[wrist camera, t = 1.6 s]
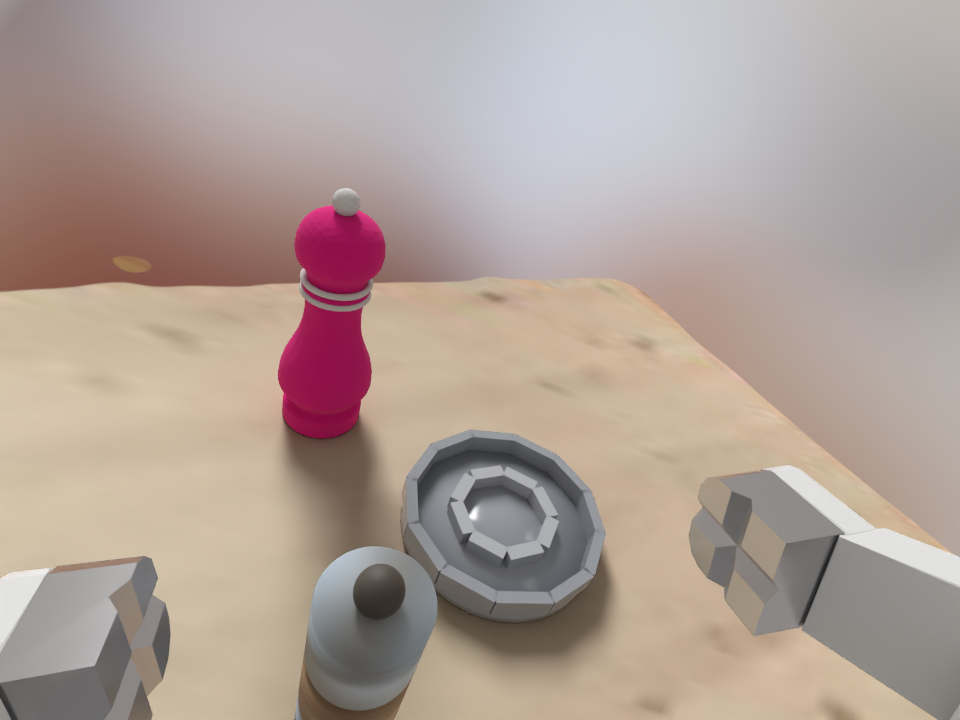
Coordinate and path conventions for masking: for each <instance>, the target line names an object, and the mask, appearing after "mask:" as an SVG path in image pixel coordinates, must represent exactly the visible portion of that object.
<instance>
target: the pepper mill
mask: <svg viewBox="0 0 960 720" xmlns="http://www.w3.org/2000/svg"><path fill="white" fill-rule="evenodd" d="M332 203H333V206H326V207H322V208H318V209H316V210H314V211H312V212H310V213H309V214H308V215H307V216H306V217H305V218H304V219H303V220H302V222H301V223H300V225H299V228H298V230H297V232H296V237H295V253H296V257H297V260H298V261H299V263H300V265H301V266H302V267H303V269H302V270H301V273H300V279H301V282H300V285H299V290H300V293H301V295H302V296H303V297H304V298H305V308H304V313H303V317H302V319H301V322H300V324H299V327H298V328H297V330H296V332H295V333H294V335H293V336H292V338H291V339H290V341H289V342H288V344H287V345H286V347H285V349H284V351H283V354H282V356H281V359H280V364H279V370H278V380H279V384H280V386H281V389H282V390H283V392H284V395H283V408H282V412H283V417H284V419H285V421H286V423H287V424H288V425H289V426H290V427H291V428H292V429H294V430H295V431H296V432H298V433H300V434H302V435H305V436H308V437H312V438H320V439H322V438H332V437H336V436H339V435H342V434H343V433H345V432H347V431H349V430H350V429H351V428H352V427H353V426H354V425H355V423H356V422H357V419H358V416H359V410H360V404H361V399H362V398H363V397H364V396H365V395H366V393H367V391H368V389H369V387H370V383H371V373H372V370H371V362H370V357H369V354H368V351H367V349H366V346H365V344H364V341H363V337H362V333H361V313H362V309H363V306H365V305H366V304H367V303H368V302H369V301H370V298H371V290H372V287H373V281H372V278H373V277H374V276H375V275H377V273H378V272H379V271H380V270H381V268H382V265H383V262H384V259H385V241H384V237H383V233H382V232H381V230H380V228H379V226H378V225H377V224H376V223H375V221H374V220H373V219H372V218H370V217H369V216H368V215H366V214H364V213H363V212H361V211H359V208H360V198H359V197H358V195H357V193H356V192H354V191H353V190H351V189H348V188H342V189H340V190H338V191H337V192H336V193H335V194H334V196H333V199H332Z"/></svg>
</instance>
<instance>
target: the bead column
mask: <svg viewBox="0 0 960 720" xmlns="http://www.w3.org/2000/svg"><path fill="white" fill-rule="evenodd" d="M436 616H437V595H436V591H435V588H434V585H433V583H432V580H431V578H430V577H429V575H428V573H427V572H426V571H425V569H424V568H423V567H422V566H421V565H420V564H419V563H418V562H417V561H416V560H414V559H413V558H412V557H410V556H409V555H407V554H405V553H403V552H401V551H399V550H396V549H393V548H388V547H381V546H369V547H362V548H358V549H355V550H352V551H349V552H347V553H345V554H343V555H342V556H340V557H339V558H337V559H336V560H335V561H333V562H332V563H331V564H330V565H329V566H328V567H327V568H326V570H325V571H324V572H323V574H322V575H321V577H320V578H319V580H318V582H317V584H316V587H315V590H314V593H313V598H312V605H311V611H310V618H309V625H308V632H307V638H306V645H305V652H304V659H303V665H302V672H301V679H300V686H299V693H298V699H297V706H296V713H295V719H294V720H394V718H395V716H396V714H397V711H398V709H399V707H400V704H401V702H402V700H403V697H404V695H405V693H406V690H407V688H408V686H409V683H410V681H411V678H412V676H413V674H414V671H415V669H416V667H417V664H418V662H419V660H420V657H421V655H422V653H423V650H424V648H425V646H426V643H427V641H428V639H429V636H430V634H431V632H432V629H433V627H434V624H435V621H436Z"/></svg>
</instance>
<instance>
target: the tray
mask: <svg viewBox="0 0 960 720" xmlns="http://www.w3.org/2000/svg"><path fill="white" fill-rule="evenodd" d="M590 490H591V489H590V488H589V487H588V486H587V485H586V484H585V483H584V482H583V481H582V480H581V479H580V478H579V477H578V476H577V474H576V473H575V472H574V471H573V470H572V469H571V468H570V467H569V466H568V465H567V464H566V463H565V462H564V461H563V460H562V459H561V458H560V456H557V454H555V453H553V452H551V451H549V450H547V449H545V448H543V447H541V446H539V445H537V444H535V443H533V442H531V441H529V440H527V439H525V438H523V437H521V436H518V435H515V434H511V433H500V432H490V431H479V430H468V431H465V432H462V433H459V434H457V435H454V436H451V437H448V438H446V439H443V440H440V441H437V442H435V443H432V444H431V445H429V447H428V448H427V449H426V451H425V452H424V453H423V455H422V456H421V458H420V459H419V460H418V462H417V463H416V464H415V466H414V467H413V468H412V470H411V471H410V472H409V474H408V475H407V477H406V480H405V484H404V487H403V491H402V496H403V504H402V509H401V520H400V522H401V533H402V537H403V541H404V545H405V548H406V550H407V553H408V555H409V556H410V557H412V558H413V559H414V560H416V561H417V562H418V563H419V564H420V565H421V566H422V567H423V568H424V569H425V571H426V572H427V573H428V575H429V577H430V578H431V580H432V583H433V585H434V588H435V591H436V593H438V594H439V595H440V596H441V597H442V598H444V599H445V600H446V601H448V602H449V603H451V604H453V605H454V606H456V607H457V608H459V609H461V610H463V611H465V612H467V613H469V614H472V615H475V616H478V617H480V618H483V619H487V620H492V621H497V622H505V623H523V622H530V621H535V620H540V619H542V618H545V617H548V616H550V615H552V614H554V613H556V612H558V611H559V610H561V609H562V608H564V607H565V606H566V605H567V604H568V603H570V602H571V601H572V599H573V598H574V597H575V596H576V595H577V594H579V593H580V592H581V591H583V590H584V589H586V587H587V586H588V585H589V583H590V582H591V580H592V579H593V577H594V576H595V573H596V569H597V565H598V562H599V558H600V554H601V550H602V547H603V543H604V539H605V535H606V534H605V533H606V532H605V529H604V526H603V523H602V520H601V518H600V515H599V512H598V509H597V506H596V503H595V500H594V497H593V494H592V491H590Z"/></svg>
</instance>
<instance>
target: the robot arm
mask: <svg viewBox="0 0 960 720" xmlns="http://www.w3.org/2000/svg"><path fill="white" fill-rule="evenodd" d="M698 500H699V502H700V503H701V505H702V507H703V508H702V509H701V510H700V511H699V512H698V514H697V515H696V516H695V517H694V518H693V519H692V522H691V527H690V532H689V541H690V546H691V552H692V555H693V557H694V559H695V561H696V563H697V565H698V567H699V568H700V569H701V571H702V572H703V573H704V574H705V576H706V577H707V578H708V579H710V580H712V581H714V582H715V583H717V584H719V585H721V586H723V587H724V590H725V601H726V603H727V604H728V605H729V606H730V608H731V609H732V610H733V611H734V613H735V614H736V615H737V616H738V618H739V619H740V620H741V621H742V623H743V624H744V625H745V626H746V628H747V629H748V630H749V631H750V633H751V634H752V635H753V636H757V635H762V634H768V633H773V632H778V631H784V630H789V629H794V628H800V627H803V628H802V631H804V632H805V633H807V634H808V635H810V636H811V637H813V638H814V639H816V640H818V641H819V642H821V643H822V644H824V645H825V646H827V647H828V648H830V649H831V650H833V651H834V652H836V653H837V654H839V655H840V656H842V657H843V658H845V659H846V660H848V661H849V662H851V663H852V664H854V665H856V666H857V667H859V668H860V669H862V670H863V671H865V672H866V673H868V674H869V675H871V676H872V677H874V678H875V679H877V680H878V681H880V682H881V683H883V684H884V685H886V686H887V687H889V688H890V689H892V690H894V691H895V692H897V693H898V694H900V695H901V696H903V697H904V698H906V699H907V700H909V701H910V702H912V703H913V704H915V705H916V706H918V707H919V708H921V709H922V710H924V711H925V712H927V713H928V714H930V715H931V716H933V717H935V718H936V719H938V720H960V557H958V556H955V555H953V554H950V553H948V552H945V551H943V550H940V549H937V548H935V547H932V546H930V545H927V544H925V543H922V542H920V541H917V540H914V539H912V538H909V537H907V536H904V535H902V534H899V533H896V532H894V531H891V530H889V529H886V528H880V529H876V528H874V527H873V526H872V525H870V524H869V523H868V522H867V521H865V520H864V519H863V518H861V517H860V516H859V515H858V514H856V513H855V512H854V511H853V510H851V509H850V508H849V507H847V506H846V505H845V504H844V503H842V502H841V501H840V500H838V499H837V498H836V497H835V496H833V495H832V494H831V493H830V492H828V491H827V490H826V489H824V488H823V487H822V486H821V485H819V484H818V483H817V482H815V481H814V480H813V479H812V478H810V477H809V476H808V475H807V474H805V473H804V472H803V471H801V470H800V469H798V468H795V467H792V466H790V465H785V466H779V467H773V468H766V469H761V470H760V471H750V472H743V473H736V474H730V475H723V476H716V477H709V478H707V479H706V480H705V481H704V482H703V484H702V485H701V487H700V490H699V494H698ZM157 579H158V577H157V574H156V571H155V568H154V565H153V562H152V559H151V558H148V557H146V556H139V557H131V558H122V559H114V560H105V561H97V562H88V563H80V564H71V565H63V566H57V567H55V568H44V569H36V570H27V571H18V572H10V573H9V574H7V575H5V576H4V577H2V578H1V579H0V720H151V719H152V715H153V714H152V711H151V708H150V705H149V702H148V699H147V696H148V695H149V694H150V693H151V692H152V690H153V689H154V688H155V687H156V686H157V685H158V684H159V683H160V682H161V681H162V680H163V676H164V672H165V668H166V665H167V661H168V655H169V644H170V624H169V616H168V612H167V608H166V604H165V603H164V602H163V601H161V600H160V599H158V598H156V597H155V596H153V595H152V594H153V591H154V588H155V585H156V582H157Z"/></svg>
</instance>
